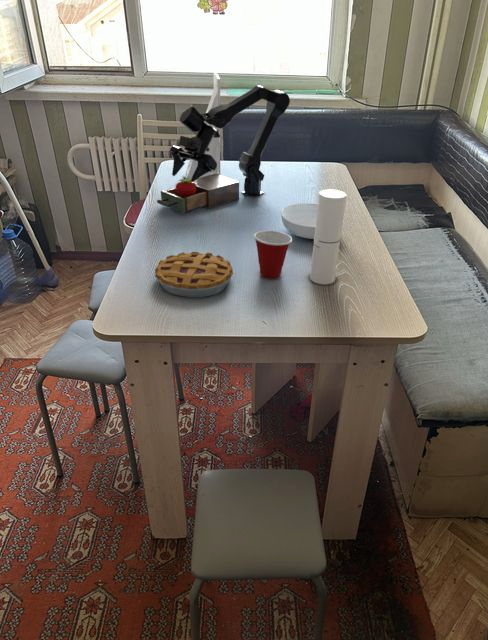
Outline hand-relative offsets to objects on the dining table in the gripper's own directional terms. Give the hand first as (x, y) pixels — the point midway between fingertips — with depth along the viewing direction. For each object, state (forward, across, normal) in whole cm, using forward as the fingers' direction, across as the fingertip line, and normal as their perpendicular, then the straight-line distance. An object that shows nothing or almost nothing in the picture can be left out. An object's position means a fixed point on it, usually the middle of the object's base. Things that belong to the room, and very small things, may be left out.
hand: (182, 178), depth 189 cm
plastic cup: (+24, +56, -8) cm, 61 cm away
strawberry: (+6, 0, +8) cm, 9 cm away
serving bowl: (0, +48, +16) cm, 51 cm away
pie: (+36, +42, -21) cm, 59 cm away
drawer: (+7, 0, +7) cm, 10 cm away
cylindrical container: (+19, +69, -3) cm, 71 cm away
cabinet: (-3, +1, +18) cm, 18 cm away
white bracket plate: (-13, -17, +28) cm, 36 cm away
